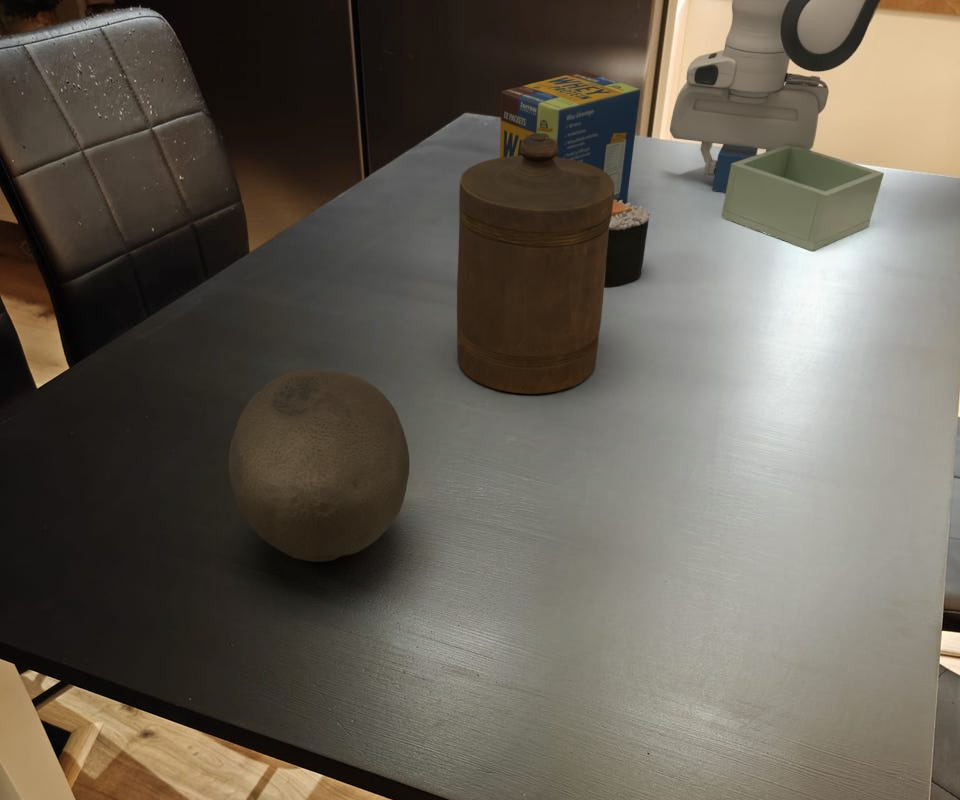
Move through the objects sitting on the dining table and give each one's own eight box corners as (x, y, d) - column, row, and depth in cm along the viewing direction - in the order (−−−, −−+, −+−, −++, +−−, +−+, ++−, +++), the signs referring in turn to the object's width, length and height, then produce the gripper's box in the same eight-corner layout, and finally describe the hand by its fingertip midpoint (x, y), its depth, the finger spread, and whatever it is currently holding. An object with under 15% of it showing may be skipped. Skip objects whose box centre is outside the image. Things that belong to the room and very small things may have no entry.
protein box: (496, 217, 128) (499, 90, 117) (574, 191, 136) (584, 69, 125) (549, 240, 123) (558, 109, 112) (628, 212, 130) (643, 86, 119)
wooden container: (620, 352, 101) (648, 130, 86) (549, 411, 92) (567, 175, 77) (506, 315, 107) (513, 101, 92) (429, 367, 98) (422, 140, 83)
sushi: (605, 292, 112) (612, 224, 106) (560, 268, 117) (565, 201, 111) (654, 276, 115) (663, 209, 110) (608, 253, 120) (616, 188, 114)
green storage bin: (868, 227, 128) (884, 172, 123) (812, 251, 121) (827, 195, 116) (777, 196, 135) (789, 143, 131) (721, 217, 129) (731, 163, 124)
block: (750, 184, 139) (758, 147, 135) (746, 195, 136) (753, 158, 132) (716, 179, 140) (723, 143, 136) (711, 190, 137) (718, 154, 133)
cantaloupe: (207, 562, 75) (165, 396, 65) (322, 478, 84) (301, 319, 73) (342, 631, 70) (321, 462, 59) (450, 534, 78) (449, 371, 68)
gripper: (834, 72, 127) (807, 179, 137) (684, 57, 132) (669, 162, 141) (830, 84, 123) (803, 194, 132) (676, 68, 127) (661, 175, 137)
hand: (733, 177), depth 137 cm, fingers open, 5 cm apart
